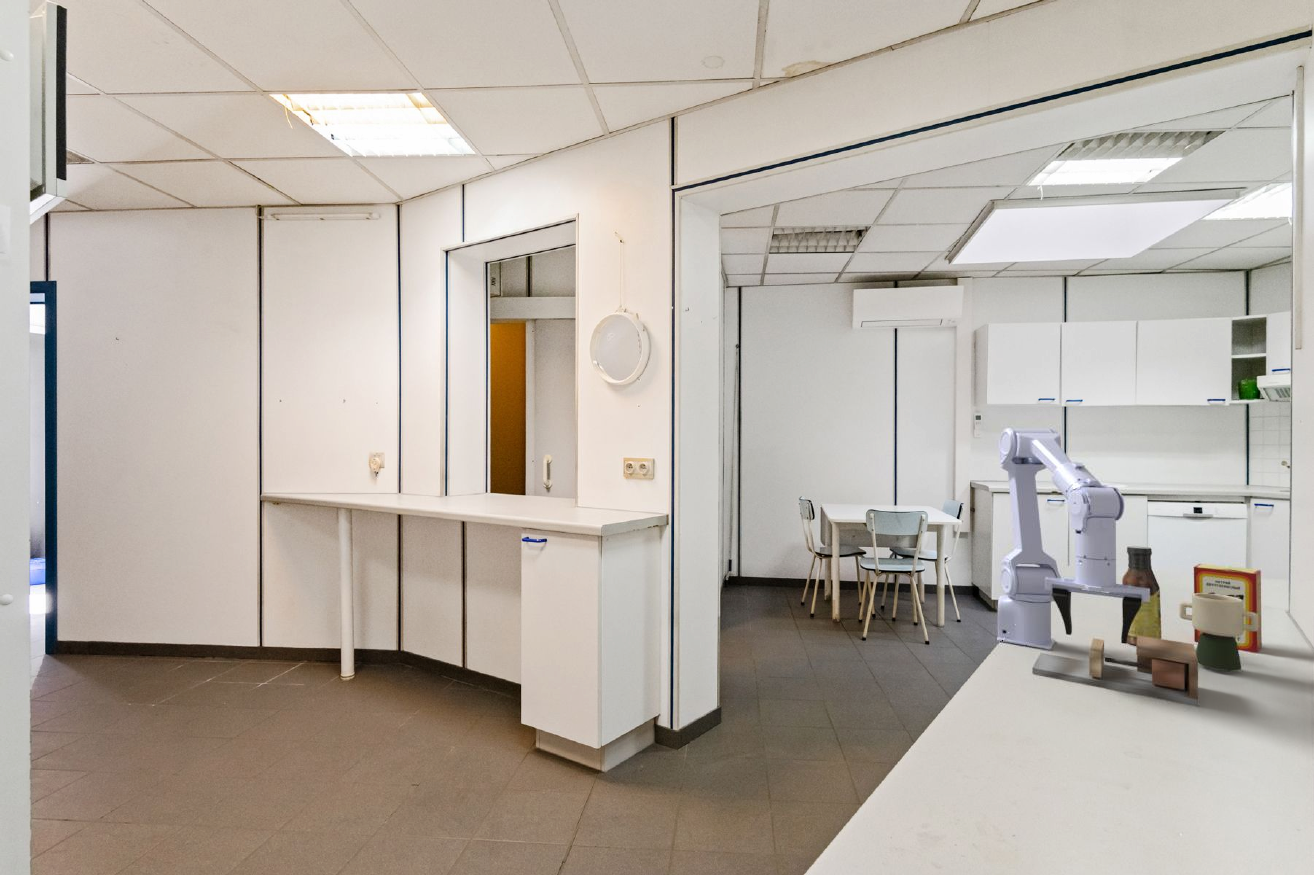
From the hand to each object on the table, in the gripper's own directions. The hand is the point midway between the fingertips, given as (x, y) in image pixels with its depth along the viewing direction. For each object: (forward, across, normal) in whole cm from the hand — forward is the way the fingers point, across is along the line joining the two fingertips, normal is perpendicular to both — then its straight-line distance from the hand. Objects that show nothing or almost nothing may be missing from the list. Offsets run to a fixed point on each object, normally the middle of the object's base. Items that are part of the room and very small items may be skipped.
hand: (1095, 637), depth 105 cm
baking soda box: (+8, +20, +45) cm, 50 cm away
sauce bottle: (+8, +6, +33) cm, 34 cm away
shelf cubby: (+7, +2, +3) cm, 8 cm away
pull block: (+6, +5, +3) cm, 9 cm away
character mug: (+8, +17, +23) cm, 30 cm away
